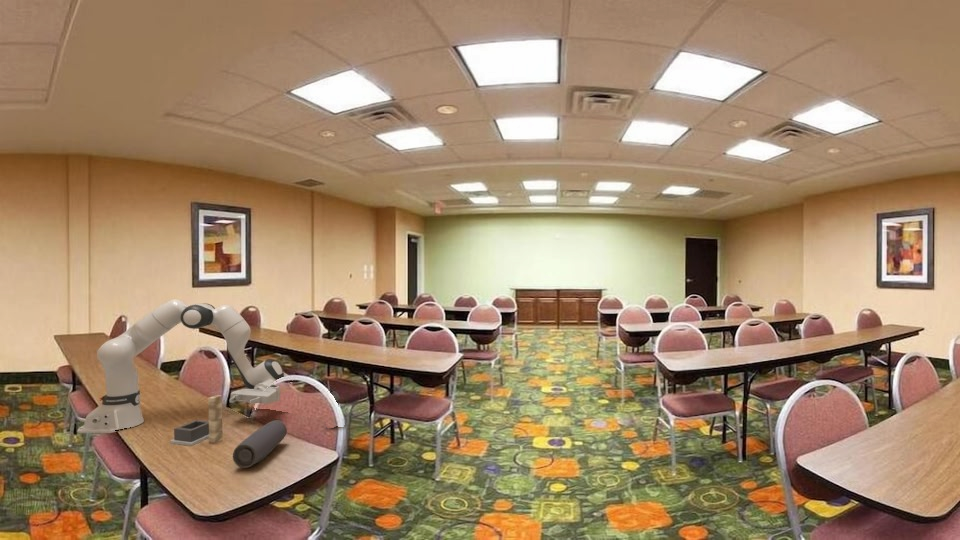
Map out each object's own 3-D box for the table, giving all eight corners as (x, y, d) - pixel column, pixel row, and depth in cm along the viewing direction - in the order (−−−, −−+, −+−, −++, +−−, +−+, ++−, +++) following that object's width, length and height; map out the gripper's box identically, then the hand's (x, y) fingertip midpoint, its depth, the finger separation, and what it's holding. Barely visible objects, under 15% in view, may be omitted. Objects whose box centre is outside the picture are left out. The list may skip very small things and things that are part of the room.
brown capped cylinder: (334, 430, 187) (333, 383, 187) (318, 429, 189) (318, 382, 188) (343, 424, 195) (342, 379, 194) (328, 423, 196) (327, 378, 195)
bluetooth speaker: (265, 443, 175) (264, 418, 175) (288, 443, 175) (288, 418, 174) (231, 471, 152) (230, 442, 152) (257, 471, 152) (257, 442, 152)
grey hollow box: (196, 431, 187) (196, 418, 187) (216, 434, 184) (216, 421, 184) (170, 443, 175) (169, 429, 175) (191, 446, 173) (190, 432, 173)
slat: (217, 439, 179) (216, 394, 179) (222, 439, 179) (221, 395, 178) (209, 443, 175) (208, 397, 175) (214, 443, 175) (213, 398, 174)
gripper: (244, 383, 204) (219, 392, 191) (282, 386, 199) (259, 396, 186) (245, 397, 205) (220, 407, 191) (282, 400, 199) (259, 411, 186)
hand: (239, 401), depth 188 cm, fingers open, 8 cm apart
